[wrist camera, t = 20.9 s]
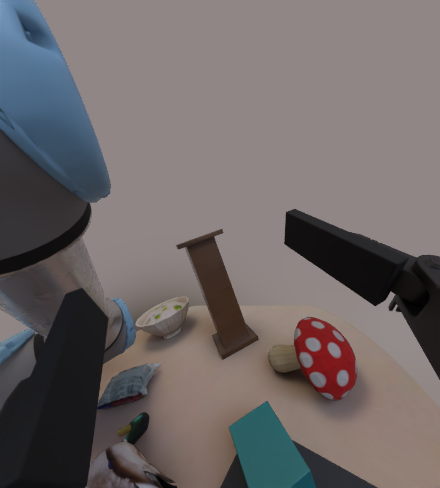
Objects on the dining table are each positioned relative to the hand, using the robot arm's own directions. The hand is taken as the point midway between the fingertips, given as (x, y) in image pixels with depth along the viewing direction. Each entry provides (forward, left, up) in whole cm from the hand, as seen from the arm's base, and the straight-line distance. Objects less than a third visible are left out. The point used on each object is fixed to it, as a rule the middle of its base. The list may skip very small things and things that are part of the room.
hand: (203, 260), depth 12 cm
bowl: (-53, +20, -28) cm, 63 cm away
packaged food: (-41, +1, -28) cm, 50 cm away
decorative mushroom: (-5, +19, -28) cm, 34 cm away
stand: (-26, +23, -28) cm, 44 cm away
